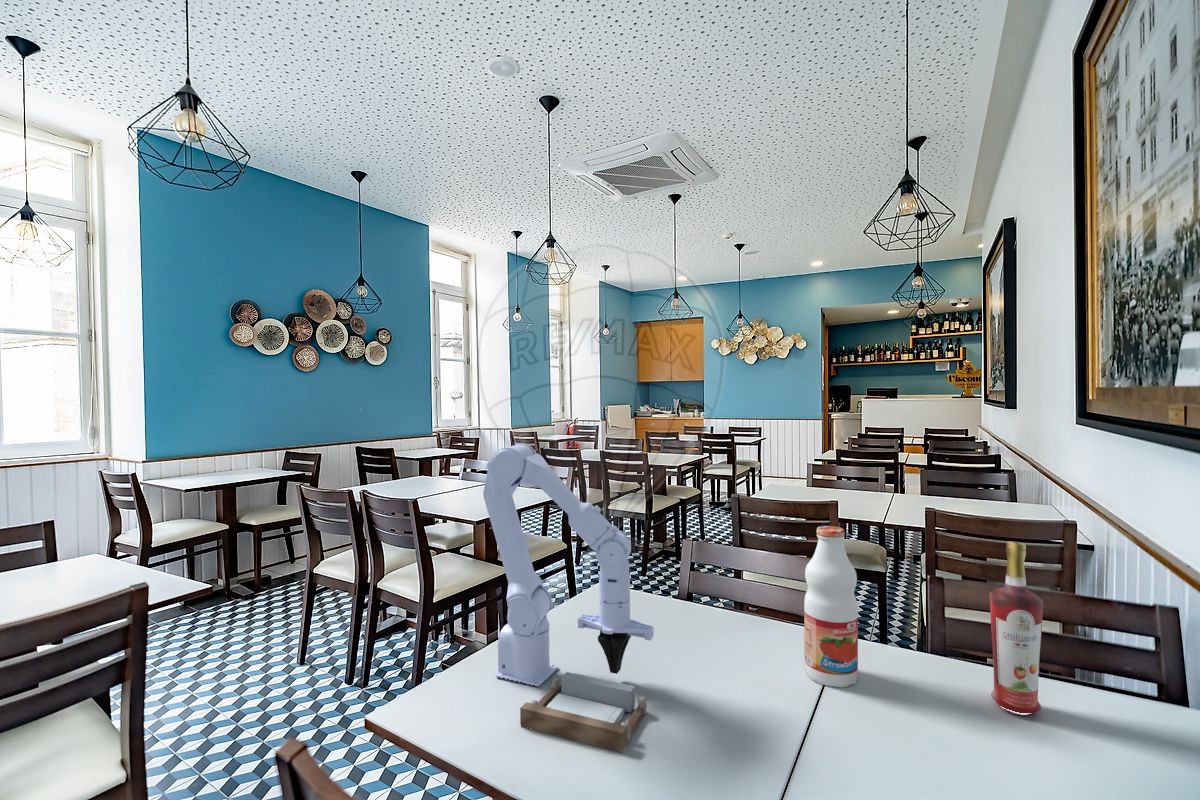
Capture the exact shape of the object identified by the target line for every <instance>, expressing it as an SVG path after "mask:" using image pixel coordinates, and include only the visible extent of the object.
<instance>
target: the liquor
mask: <svg viewBox="0 0 1200 800" xmlns="http://www.w3.org/2000/svg"><path fill="white" fill-rule="evenodd" d="M1005 548H1006V549H1005V553H1006V558H1007V562H1006V573H1005V574H1006V575H1005V581H1004V582H1005V583H1004V586H1000V587H996V588H994V589H993V590H992V591H989V603H990V604H989V608H990V609H989V610H990V611H989V612H990V628H991V629H990V630H991V642H992V643H991V644H992V663H993V664H992V665H993V666H992V667H993V690H992V691H991V692H990V696H991V698H992V700H994V701H995V703H996V704H997V705H998V704H999V705H1000V706H1002V707H1004V708H1006V709H1009V710H1012V711H1015V712H1019V713H1032V714H1034V712H1035V713H1036V712H1039V711H1041V709H1042V706H1041V704H1040V702H1039V676H1040V675H1039V673H1040V659H1041V658H1040V657H1041V654H1040V653H1041V644H1042V643H1041V642H1042V630H1043V629H1042V628H1043V611H1044V610H1043V609H1044V601H1043V600H1042V599H1041V598H1040V597H1039V596H1037V594H1036V593H1034V592H1031V591H1029V590H1028V587H1027V579H1026V570H1025V559H1026V556H1027V544H1026V543H1023V542H1019V541H1011V540H1010V541H1006V546H1005ZM999 705H998V706H999ZM1000 706H999V707H1000Z"/></svg>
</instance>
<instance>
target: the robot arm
mask: <svg viewBox="0 0 1200 800" xmlns="http://www.w3.org/2000/svg"><path fill="white" fill-rule="evenodd" d="M486 469H487V471H486V477H485V483H484V486H483V493H482V495H483V500H484V503H485V507H486V510H487V514H488V517H489V520H490V524H491V527H492V531H493V534H494V537H495V541H496V545H497V549H498V551H499V555H500V558H501V559H500V560H501V562H502V566H503V569H504V572H505V575H506V579H507V584H508V585H507V593H506V598H505V599H506V603H507V607H508V608H507V615H506V620H507V623H506V624H505V625H504V626H503V627H502V628H501V630H500V633H499V636H498V641H497V668H498V670H497V671H498V672H497V673H496V674H495V677H496V678H498V677H500V679H502V678H505V679H504V680H507V679H509V680H508V681H511V680H513V681H512V682H516V681H518V682H517V683H520V682H523V683H522V684H524V683H526V684H525V685H529V684H530V685H529V686H533V685H535V686H534V687H540V686H541V685H543V684H544V682H545V681H546V680H548V678H549V677H551V676H552V674H554V673H555V672H556V671H557V669H558V668H559V665H558V664H554V663H550V660H551V659H550V622H549V620H548V615H547V614H548V613H549V612H550V611H551V608H552V607H553V606H552V605H553V600H552V596H551V593H550V592H549V590H548V589H547V588H546V587H545V586H544V583H543V581H542V578H541V577H540V576H539V575H538V574H536V572H535V569H534V565H533V562H532V559H531V555H530V553H529V548H528V545H527V542H526V539H525V535H524V532H523V527H522V524H521V521H520V517H519V513H518V510H517V507H516V504H515V500H514V498H513V496H514V493H515V492H516V490H517V489H518V487H519V485H520V484H525V485H529V486H536V487H538V488H539V489H541V490H542V491H543V493H545V494H546V495H547V496H548V497H549V498H550V499H551V500H552V501H554V503H556V505H557V506H559V507H560V508H561V509H562V511H564V512H565V513H566V514H567V517H568V525H569V526H570V528H571V529H572V530H573V531H574V532H575V533H576V534H577V535H578V536H579V537H580V539H582V540H583V541H584V542H585V543H586V545H588V546H589V547H590V549H591V550H593V551H595V552H596V553H595V558H596V561H597V563H598V564H599V577H598V579H599V582H598V584H599V585H598V587H599V589H598V590H599V595H598V596H599V614H598V615H597V614H596V615H594V614H593V615H591V614H583V613H582V614H581V615H579V617H577V628H578V629H584V628H585V629H591V630H592V629H593V630H597V631H600V632H599V635H598V636H597V642H598V644H600V645H599V646H600V647H601V648H602V650H603V652H604V655H605V658H606V660H607V664H608V668H609V669H608V670H609V673H611V674H614V675H615V674H616V675H617V674H618V673H619V672H620V671H621V669H622V663H623V658H624V656H625V655H624V654H625V651H626V649H627V646H628V644H629V641H630V639H631V637H637V638H643V639H644V640H645V641H651V640H652V639H653V638H654V635H655V634H654V625H650V624H649V625H648V624H646V623H643V622H640V621H638V620H634V619H632V618H631V574H630V572H629V571H630V564H629V563H630V562H629V561H630V560H629V556H630V554H631V551H632V543H631V540H630V538H629V536H627V533H626V532H624V531H622V530H619V528H618V526H616V525H612V524H611V523H610V522H609V520H608V519H607V518H606V517H605V516H604V515H602V513H601V511H602V508H600V507H599V506H598V504H597V505H595V506H594V505H593V504H592V503H591V502H582V501H580V499H579V498H578V497H577V496H576V495H575V494H574V492H573V491H572V490H571V489H570V488H569V486H567V485H566V483H564V481H563V480H562V479H561V478H560V476H559V475H558V474H557V473H556V472H555V470H553V468H552V467H551V466H550V465H549V463H548V462H547V461H546V459H544V457H543V456H542V455H541V454H539V453H538V452H537V453H536V451H535V449H534V448H533V447H532V446H531V445H529V444H527V443H523V442H521V443H516V444H513V445H512V446H511V445H510V446H508V447H502V448H500V449H498V450H497V451H495V453H494V454H493V455H492V457H491V458H490V459H489V460H488V462H487V463H486Z"/></svg>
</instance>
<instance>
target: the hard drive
mask: <svg viewBox="0 0 1200 800" xmlns="http://www.w3.org/2000/svg"><path fill="white" fill-rule="evenodd" d="M546 707H548V708H552V709H556V710H560V711H565V712H569V713H573V714H577V715H581V716H585V717H590V718H594V719H598V720H602V721H606V722H610V723H615V724H618V723H619V722H620V721H621V719H622V718H623V716H624V715H625V713H626V711H625V710H624V708H619V707H615V706H611V705H607V704H602V703H598V702H594V701H590V700H585V699H581V698H576V697H572V696H568V695H563V694H562V693H560V694H557V696H556V697H555V698H554V699H553V700H552V701H551V702H550V703H549V704H548V705H547V706H546Z"/></svg>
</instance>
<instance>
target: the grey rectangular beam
mask: <svg viewBox="0 0 1200 800" xmlns="http://www.w3.org/2000/svg"><path fill="white" fill-rule="evenodd" d="M635 687H636V686H635V685H631V684H627V683H622V682H617V681H613V680H606V679H603V678H598V677H593V676H587V675H583V674H578V673H574V672H570V671H566V672H565V673H564V674H563V675H562V676H561V694H563V695H568V696H572V697H576V698H581V699H585V700H590V701H594V702H598V703H602V704H607V705H611V706H615V707H619V708H624V710H625V712H627V713H632V712H633V710H634V709H635V706H636V688H635Z"/></svg>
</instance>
